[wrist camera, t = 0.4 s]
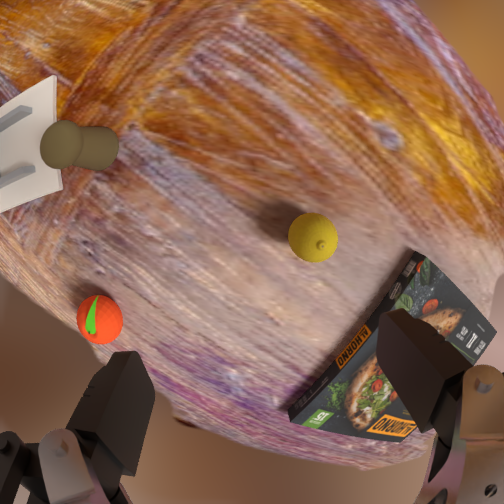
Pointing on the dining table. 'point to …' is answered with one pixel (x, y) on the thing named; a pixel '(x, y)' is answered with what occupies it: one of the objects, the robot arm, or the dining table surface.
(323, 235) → the lemon
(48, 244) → the dining table surface
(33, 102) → the U-rest
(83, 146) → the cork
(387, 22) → the dining table surface
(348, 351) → the pizza box
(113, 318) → the clementine
